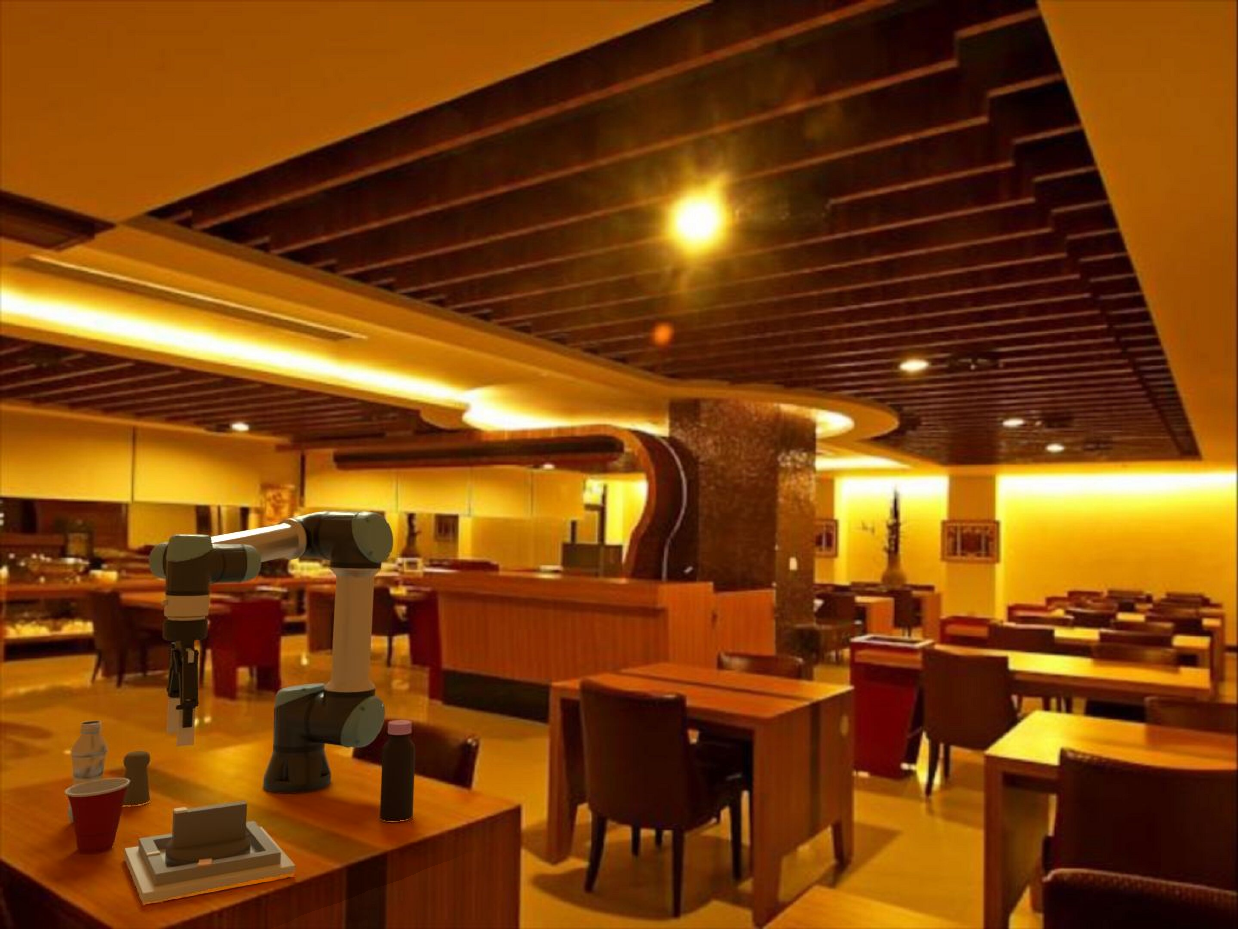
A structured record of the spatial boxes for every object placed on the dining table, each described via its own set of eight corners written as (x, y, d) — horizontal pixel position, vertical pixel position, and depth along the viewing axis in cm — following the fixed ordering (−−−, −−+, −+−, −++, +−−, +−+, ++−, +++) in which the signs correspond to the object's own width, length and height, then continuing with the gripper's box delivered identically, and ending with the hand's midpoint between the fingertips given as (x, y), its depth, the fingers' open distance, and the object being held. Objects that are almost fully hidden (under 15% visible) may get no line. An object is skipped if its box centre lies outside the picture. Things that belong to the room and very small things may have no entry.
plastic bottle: (111, 819, 192) (117, 720, 193) (83, 829, 185) (89, 727, 186) (88, 815, 194) (93, 718, 195) (59, 825, 187) (65, 724, 189)
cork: (155, 799, 205) (158, 749, 206) (139, 808, 199) (141, 756, 200) (130, 798, 206) (132, 748, 206) (112, 806, 200) (115, 754, 200)
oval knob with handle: (240, 837, 176) (242, 789, 177) (258, 860, 165) (261, 809, 165) (159, 850, 168) (161, 800, 169) (172, 875, 157) (174, 822, 157)
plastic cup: (78, 839, 180) (82, 776, 180) (136, 838, 180) (140, 776, 181) (49, 859, 169) (53, 792, 169) (110, 859, 170) (114, 792, 170)
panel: (261, 837, 183) (262, 815, 183) (294, 877, 163) (295, 852, 163) (124, 859, 169) (125, 835, 170) (142, 906, 150) (144, 878, 150)
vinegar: (419, 818, 197) (422, 722, 198) (391, 825, 192) (395, 727, 193) (400, 811, 201) (404, 717, 202) (373, 818, 196) (377, 722, 198)
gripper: (154, 612, 180) (148, 728, 178) (174, 625, 161) (167, 755, 159) (196, 611, 184) (190, 724, 182) (220, 623, 165) (214, 749, 164)
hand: (179, 739), depth 171 cm, fingers open, 10 cm apart
